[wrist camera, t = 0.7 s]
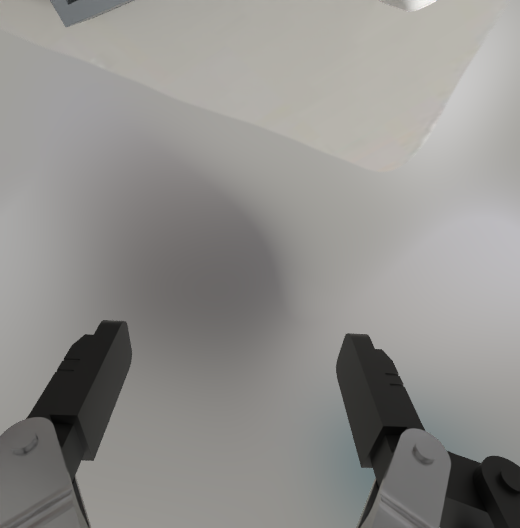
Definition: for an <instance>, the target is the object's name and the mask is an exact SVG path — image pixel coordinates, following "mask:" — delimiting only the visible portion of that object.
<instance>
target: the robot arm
mask: <svg viewBox="0 0 520 528" xmlns="http://www.w3.org/2000/svg"><path fill="white" fill-rule="evenodd" d="M131 359H132V349H131V344H130V338H129V332H128V326H127V323H126V322H125V321H108V320H103V321H102V322H101V323H100V325H99V326H98V328H97V330H96V332H95V334H94V335H87V334H85V335H84V336H83V337H81V338H80V339H79V340H78V341H77V342H76V343H74V344H73V345H72V346H71V348H70V349H69V351H68V353H67V354H66V356H65V358H64V361H62V363H61V364H60V366H59V368H58V369H57V372H55V374H54V375H53V377H52V379H51V381H50V382H49V384H48V385H47V387H46V388H45V390H44V392H43V393H42V395H41V397H40V398H39V400H38V401H37V403H36V405H35V406H34V408H33V410H32V411H31V413H30V414H29V416H28V417H27V418H26V419H25V420H22V421H20V422H18V423H16V424H14V425H13V426H11V427H10V428H8V429H7V430H6V431H5V432H4V433H3V434H2V435H1V436H0V528H91V525H90V522H89V519H88V516H87V512H86V509H85V505H84V502H83V499H82V496H81V492H80V489H79V486H78V482H77V479H76V476H75V474H76V472H77V469H78V467H79V465H80V462H81V460H91V461H93V460H94V458H95V456H96V453H97V450H98V448H99V445H100V442H101V440H102V438H103V435H104V432H105V430H106V427H107V425H108V422H109V420H110V417H111V414H112V411H113V409H114V407H115V404H116V401H117V399H118V396H119V393H120V391H121V389H122V386H123V383H124V380H125V378H126V376H127V373H128V371H129V367H130V364H131ZM336 373H337V379H338V383H339V386H340V390H341V394H342V397H343V401H344V404H345V409H346V412H347V416H348V420H349V423H350V427H351V431H352V435H353V438H354V442H355V446H356V449H357V453H358V457H359V460H360V464H361V467H362V468H373V470H374V473H375V476H376V478H375V480H374V483H373V485H372V488H371V490H370V493H369V496H368V498H367V501H366V503H365V506H364V509H363V511H362V514H361V516H360V519H359V522H358V524H357V527H356V528H439V527H440V528H520V467H519V466H518V465H516V464H515V463H513V462H511V461H510V460H508V459H505V458H502V457H499V456H489V457H487V458H485V460H483V462H482V463H478V462H476V461H473V460H470V459H468V458H465V457H462V456H459V455H456V454H453V453H451V452H449V451H447V450H446V449H445V447H444V446H443V445H442V443H441V442H440V441H439V440H438V439H437V438H435V437H434V436H433V435H431V434H430V433H428V432H426V431H425V429H424V427H423V425H422V423H421V421H420V419H419V417H418V415H417V413H416V410H415V408H414V406H413V404H412V402H411V400H410V397H409V395H408V393H407V391H406V389H405V387H403V382H402V380H401V378H400V376H398V372H397V370H396V367H395V365H394V363H393V361H392V360H391V359H390V358H389V357H388V356H387V355H386V354H385V352H384V351H383V350H382V349H375V348H374V346H373V344H372V341H371V339H370V337H369V336H368V335H367V334H346V336H345V338H344V341H343V344H342V347H341V350H340V353H339V356H338V360H337V365H336Z"/></svg>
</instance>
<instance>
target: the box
mask: <svg viewBox="0 0 520 528" xmlns="http://www.w3.org/2000/svg"><path fill="white" fill-rule="evenodd" d="M50 1H51V3H52V4H53V6H54V8H55V10H56V11H57V13H58V15H59V16H60V18H61V20H62V22H63V23H64V25H65V27H69V26H72V25H74V24H77V23H80V22H83V21H86V20H89V19H92V18H94V17H97V16H99V15H101V14H104V13H106V12H108V11H110V10H113V9H115V8H117V7H120V6H122V5H124V4H127V3H129V2H131V1H134V0H50Z"/></svg>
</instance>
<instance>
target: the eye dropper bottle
mask: <svg viewBox="0 0 520 528" xmlns="http://www.w3.org/2000/svg"><path fill="white" fill-rule="evenodd" d="M379 1H380V2H382V3H385V4H387V5H390V6H393V7H395V8H398V9H401V10H404V11H408V12H410V11H416V10H419V9H421V8H423V7H426V6H428V5H430V4H432V3H434V2H435V1H437V0H379Z"/></svg>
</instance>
